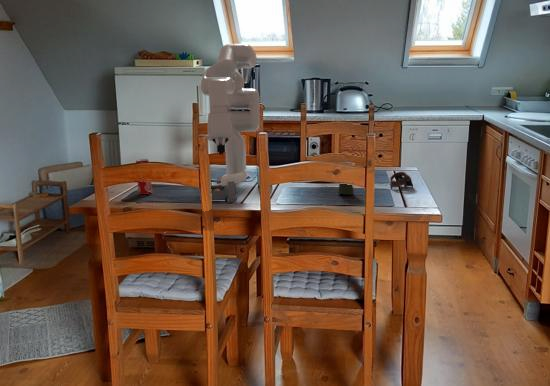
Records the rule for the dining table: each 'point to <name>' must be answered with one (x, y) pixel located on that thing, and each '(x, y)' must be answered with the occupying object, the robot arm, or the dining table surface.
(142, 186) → the beverage can
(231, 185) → the catapult stand
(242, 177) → the seesaw trough
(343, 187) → the character mug
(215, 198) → the cup
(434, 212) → the dining table surface
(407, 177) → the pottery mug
